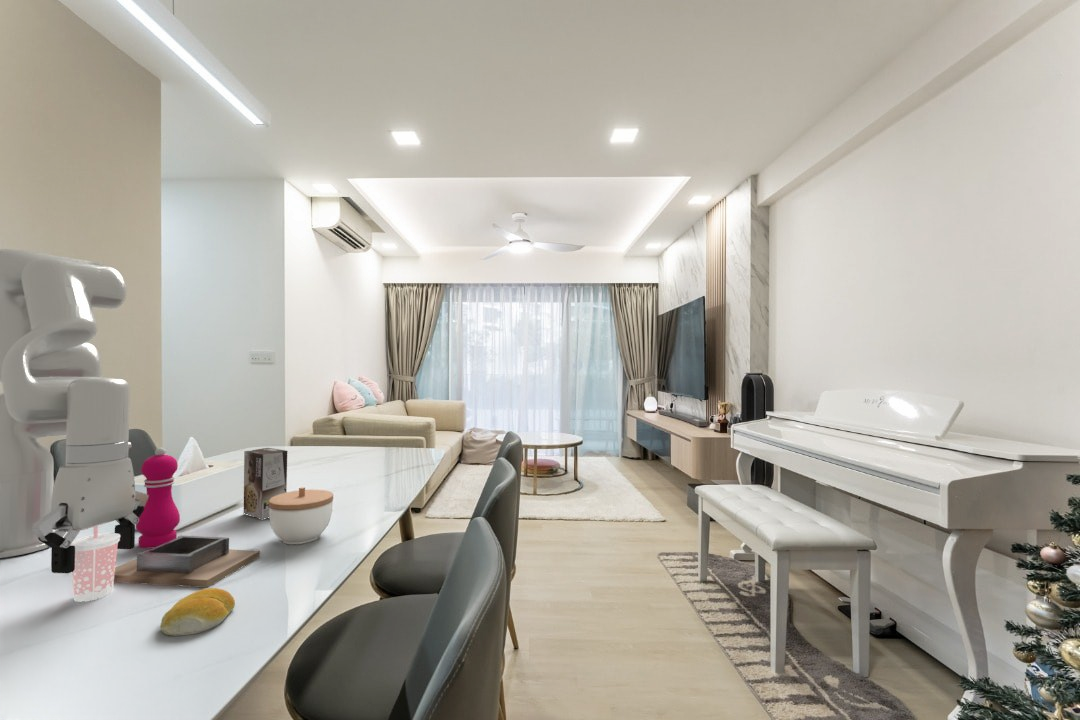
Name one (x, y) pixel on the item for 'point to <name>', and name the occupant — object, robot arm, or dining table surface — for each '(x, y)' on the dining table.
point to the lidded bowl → (300, 515)
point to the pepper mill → (158, 501)
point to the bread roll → (198, 612)
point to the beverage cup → (94, 565)
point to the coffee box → (263, 479)
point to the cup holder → (185, 562)
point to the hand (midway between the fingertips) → (95, 559)
